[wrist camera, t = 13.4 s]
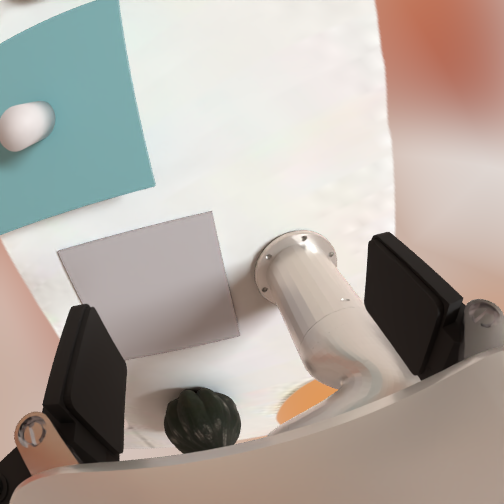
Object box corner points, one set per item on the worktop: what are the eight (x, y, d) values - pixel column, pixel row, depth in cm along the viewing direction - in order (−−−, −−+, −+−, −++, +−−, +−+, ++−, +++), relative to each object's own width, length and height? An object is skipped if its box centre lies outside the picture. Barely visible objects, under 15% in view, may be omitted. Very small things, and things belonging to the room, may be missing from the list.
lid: (118, -5, 20) (105, -22, 15) (155, 183, 31) (151, 204, 26) (-43, 74, 18) (-74, 77, 13) (0, 232, 28) (-22, 257, 24)
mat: (211, 210, 41) (212, 212, 40) (239, 333, 52) (240, 335, 52) (58, 250, 38) (57, 252, 38) (116, 359, 50) (115, 361, 49)
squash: (140, 429, 53) (193, 485, 47) (169, 387, 49) (233, 452, 43) (184, 404, 65) (231, 451, 60) (215, 364, 61) (270, 416, 56)
